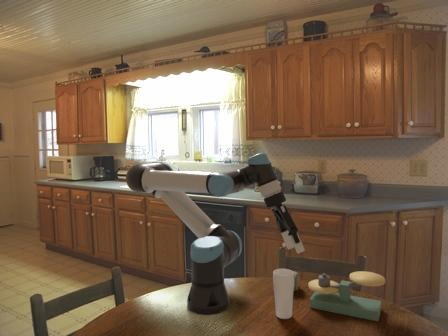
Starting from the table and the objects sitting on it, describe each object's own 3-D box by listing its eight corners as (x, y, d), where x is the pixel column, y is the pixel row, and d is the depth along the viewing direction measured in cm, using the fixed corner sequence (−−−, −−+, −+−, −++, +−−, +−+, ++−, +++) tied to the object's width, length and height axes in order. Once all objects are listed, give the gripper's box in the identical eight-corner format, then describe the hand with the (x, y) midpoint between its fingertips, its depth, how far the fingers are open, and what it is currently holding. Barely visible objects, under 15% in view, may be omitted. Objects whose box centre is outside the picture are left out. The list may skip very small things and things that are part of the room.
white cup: (282, 323, 113) (281, 277, 112) (269, 314, 119) (268, 270, 118) (298, 317, 116) (298, 273, 115) (285, 309, 122) (285, 266, 121)
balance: (304, 307, 123) (304, 273, 122) (312, 295, 133) (312, 263, 132) (383, 324, 111) (383, 286, 110) (385, 309, 121) (386, 274, 120)
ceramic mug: (297, 294, 134) (297, 274, 133) (275, 291, 137) (275, 272, 136) (301, 284, 144) (301, 265, 143) (281, 281, 146) (281, 263, 146)
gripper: (290, 188, 115) (316, 249, 113) (275, 192, 140) (296, 243, 138) (269, 196, 115) (295, 258, 113) (257, 199, 139) (279, 250, 137)
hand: (296, 250), depth 125 cm, fingers open, 13 cm apart
